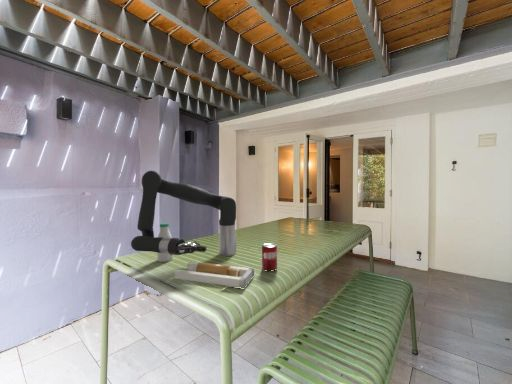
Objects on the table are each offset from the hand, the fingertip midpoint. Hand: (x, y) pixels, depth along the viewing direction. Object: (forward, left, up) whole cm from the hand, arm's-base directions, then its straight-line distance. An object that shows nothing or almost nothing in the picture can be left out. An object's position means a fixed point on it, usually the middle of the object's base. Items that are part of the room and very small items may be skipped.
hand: (205, 249), depth 106 cm
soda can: (-23, +20, -13) cm, 33 cm away
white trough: (-1, +4, -13) cm, 13 cm away
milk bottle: (-6, -35, -13) cm, 38 cm away
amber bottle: (+1, -3, -9) cm, 10 cm away
